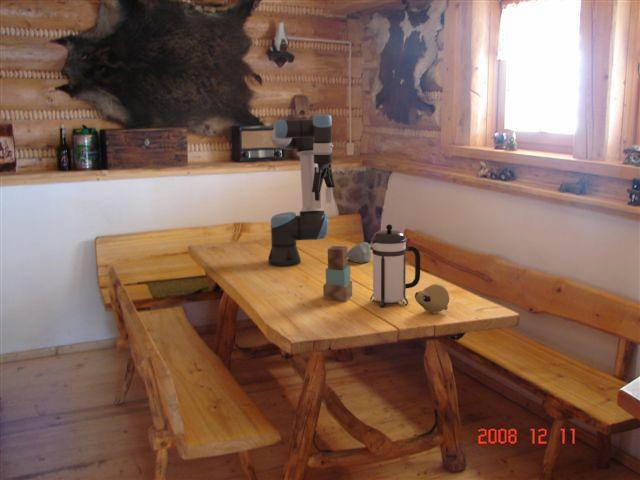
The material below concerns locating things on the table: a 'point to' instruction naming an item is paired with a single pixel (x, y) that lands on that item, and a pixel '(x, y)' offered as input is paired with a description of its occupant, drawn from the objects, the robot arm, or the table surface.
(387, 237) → the coffee press
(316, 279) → the table surface
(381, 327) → the table surface
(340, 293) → the tower base
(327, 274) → the tower top
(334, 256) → the walnut block
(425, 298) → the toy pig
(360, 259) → the decorative stone
